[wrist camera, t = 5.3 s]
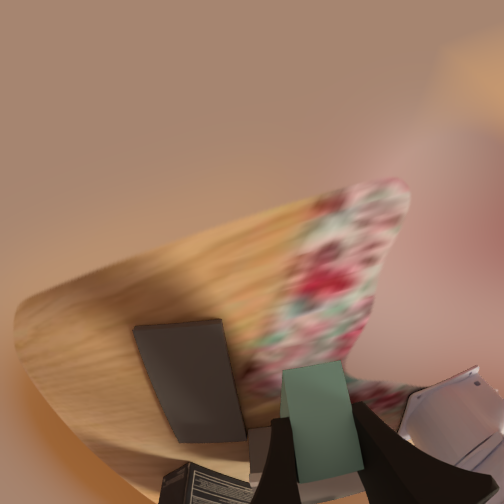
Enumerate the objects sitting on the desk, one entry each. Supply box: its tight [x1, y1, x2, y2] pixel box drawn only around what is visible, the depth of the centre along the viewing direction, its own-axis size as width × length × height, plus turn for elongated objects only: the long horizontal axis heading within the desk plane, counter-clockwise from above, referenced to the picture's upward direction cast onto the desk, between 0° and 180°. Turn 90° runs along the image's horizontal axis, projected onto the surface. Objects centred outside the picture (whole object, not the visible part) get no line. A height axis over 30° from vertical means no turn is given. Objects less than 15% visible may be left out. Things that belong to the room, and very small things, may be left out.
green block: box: [280, 360, 364, 484], centre depth 12 cm, size 2×10×5 cm, turn 6°
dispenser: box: [248, 427, 365, 504], centre depth 18 cm, size 10×7×6 cm
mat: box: [132, 319, 247, 443], centre depth 19 cm, size 6×12×1 cm, turn 7°
